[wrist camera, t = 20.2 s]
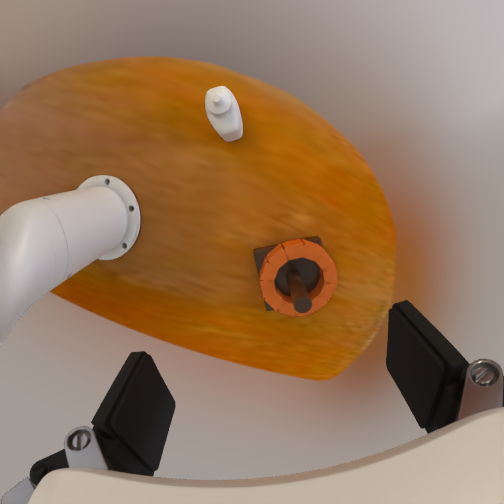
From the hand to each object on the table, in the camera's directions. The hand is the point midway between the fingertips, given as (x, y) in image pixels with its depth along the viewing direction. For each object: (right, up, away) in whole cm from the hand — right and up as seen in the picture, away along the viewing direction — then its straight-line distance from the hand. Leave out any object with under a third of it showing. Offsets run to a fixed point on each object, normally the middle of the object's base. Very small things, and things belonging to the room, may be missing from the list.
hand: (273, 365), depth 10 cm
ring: (+5, +1, +28) cm, 28 cm away
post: (+5, +1, +29) cm, 30 cm away
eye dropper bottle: (-4, +21, +23) cm, 32 cm away
